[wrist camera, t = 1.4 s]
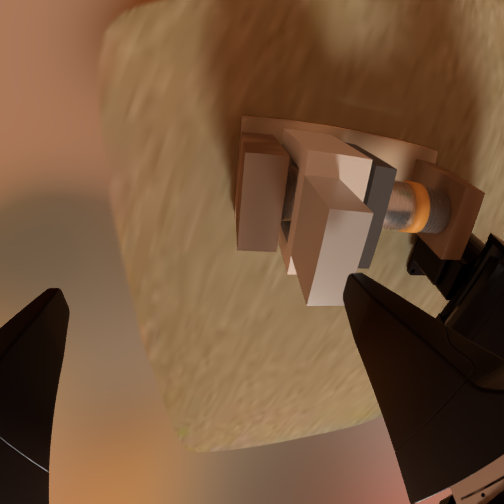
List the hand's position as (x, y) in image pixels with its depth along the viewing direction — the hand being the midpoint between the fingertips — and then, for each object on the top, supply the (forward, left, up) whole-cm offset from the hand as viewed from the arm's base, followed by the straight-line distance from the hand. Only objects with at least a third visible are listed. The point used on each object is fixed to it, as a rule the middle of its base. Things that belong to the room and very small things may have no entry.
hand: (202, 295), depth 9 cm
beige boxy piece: (-5, 0, -12) cm, 13 cm away
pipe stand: (-9, 0, -13) cm, 16 cm away
